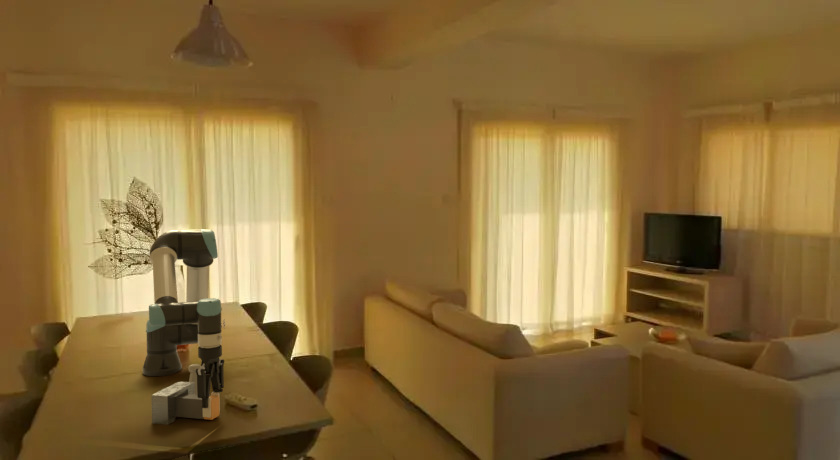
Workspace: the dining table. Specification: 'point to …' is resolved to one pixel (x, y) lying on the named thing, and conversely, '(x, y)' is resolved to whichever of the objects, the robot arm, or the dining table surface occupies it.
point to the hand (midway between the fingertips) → (211, 413)
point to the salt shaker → (193, 375)
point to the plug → (194, 406)
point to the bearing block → (168, 402)
